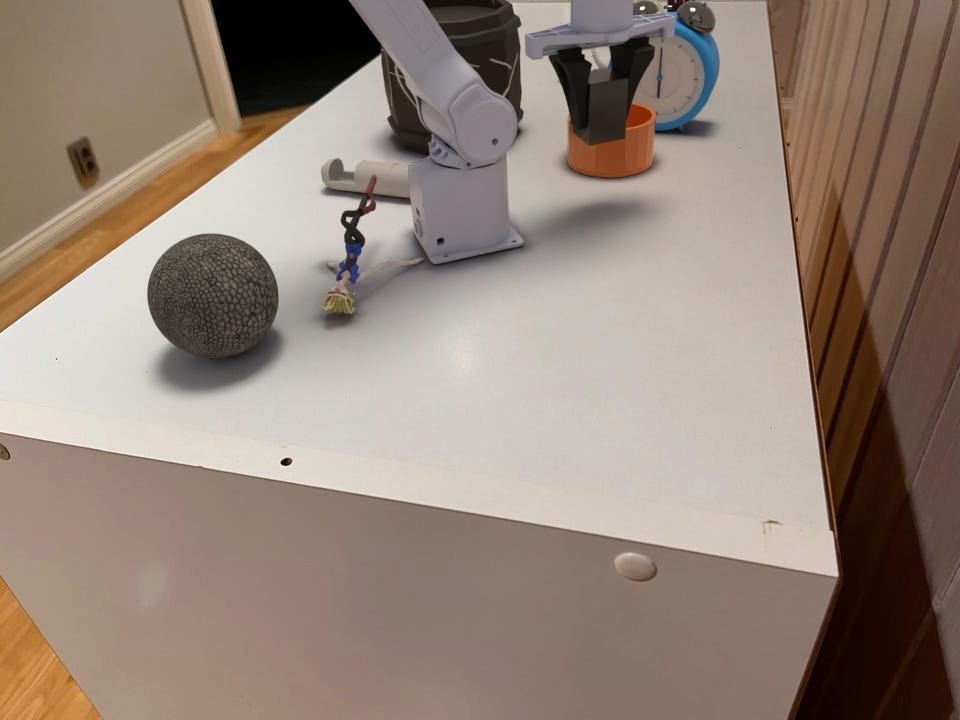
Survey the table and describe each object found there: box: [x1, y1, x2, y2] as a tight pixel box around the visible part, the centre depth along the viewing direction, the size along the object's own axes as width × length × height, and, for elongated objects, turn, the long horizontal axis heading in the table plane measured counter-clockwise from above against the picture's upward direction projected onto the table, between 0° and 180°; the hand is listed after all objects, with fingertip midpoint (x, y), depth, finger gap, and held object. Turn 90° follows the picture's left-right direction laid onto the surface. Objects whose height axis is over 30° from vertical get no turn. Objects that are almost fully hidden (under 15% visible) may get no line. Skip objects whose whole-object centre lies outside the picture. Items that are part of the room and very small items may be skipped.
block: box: [573, 68, 628, 146], centre depth 77 cm, size 4×4×6 cm
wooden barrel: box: [380, 0, 525, 156], centre depth 98 cm, size 18×18×16 cm
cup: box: [566, 103, 656, 178], centre depth 91 cm, size 10×10×6 cm
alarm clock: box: [608, 0, 721, 133], centre depth 97 cm, size 13×6×15 cm, turn 69°
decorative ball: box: [146, 232, 280, 359], centre depth 62 cm, size 10×10×10 cm
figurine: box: [301, 174, 425, 331], centre depth 72 cm, size 10×9×20 cm
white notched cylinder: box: [320, 142, 430, 199], centre depth 86 cm, size 18×5×6 cm, turn 69°
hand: (598, 122), depth 78 cm, fingers closed on block, 4 cm apart
